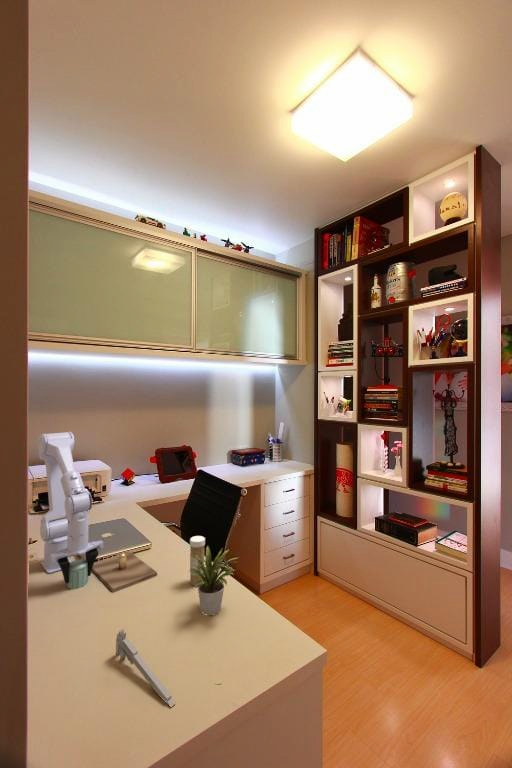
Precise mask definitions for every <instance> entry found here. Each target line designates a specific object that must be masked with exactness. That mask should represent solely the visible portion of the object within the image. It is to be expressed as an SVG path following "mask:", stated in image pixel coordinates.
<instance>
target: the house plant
mask: <svg viewBox="0 0 512 768" xmlns="http://www.w3.org/2000/svg"><path fill="white" fill-rule="evenodd" d="M229 551H230V548H229V549H227V550H225V551H224V552H223V548H221V549H220V550H219V552H218V553H217V555H216V557H215V558H214V560H213V559H212V552H211V549H210V546H209V545H207V546H206V549H205V558H204V559H203V560H204V564H203V562H202V561H201V558H199V557H198V556H197V555H195V554H194V556H195V557H196V558H197V560H198V562H199V563H200V564H199V563H198V562H197V563H198V564H199V565H200V566H198V567H197V566H196V565H195V564H193V563H192V564H193V565H195V567H197V568H198V569H199V567H200V568H201V570H202V571H203V573H204V575H202V574H203V573H202V571H201V570H200V569H199V570H200V571H201V573H202V574H201V573H200V572H199V571H197V570H196V569H191V570H190V569H189V571H188V572H189V573H190V572H192V573H194V574H196V575H198V576H200V577H201V579H202V580H203V581H202V580H198V581H197V586H196V588H197V593H198V598H199V604H200V605H199V606H200V611H202V612H203V613H204V614H207V615H212V616H214V615H213V614H216V613H218V612H219V611H220V612H221V609H222V608H221V607H222V602H223V596H224V589H225V585H226V586H228V582H227V579H226V578H224V577H227V576H231V575H234V573H233V572H234V571H237V569H231V568H229V567H226V566H227V565H229V564H233V563H235V561H234V560H236V559H238V557H234V558H229V559H227V560H226V561H225V562H223V561H224V560H225V557H226V554H227V553H228V552H229ZM195 562H196V561H195ZM222 562H223V563H222ZM237 562H240V561H237V560H236V563H237ZM193 568H194V567H193ZM223 572H224V573H223ZM203 576H204V577H203ZM202 612H201V613H202ZM220 612H219V613H220ZM203 613H202V614H203ZM219 613H218V614H219ZM204 614H203V615H204ZM207 615H206V616H207ZM216 615H217V614H216Z"/></svg>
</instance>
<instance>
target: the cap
mask: <svg viewBox="0 0 512 768" xmlns="http://www.w3.org/2000/svg"><path fill="white" fill-rule="evenodd" d="M88 582H89V576H88V561H87V560H86V559H76V560H72V562H70V566H69V583H67V584H66V587H67V588H68V589H71V590H75V589H81V588H83V587H84V586H86V585H88Z"/></svg>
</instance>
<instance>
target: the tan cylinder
mask: <svg viewBox="0 0 512 768" xmlns="http://www.w3.org/2000/svg"><path fill="white" fill-rule="evenodd" d="M125 553H126V552H122V553H119V554H118V555H119V557H118V569H119V570H124V569H126V554H125Z"/></svg>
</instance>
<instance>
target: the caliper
mask: <svg viewBox="0 0 512 768" xmlns="http://www.w3.org/2000/svg"><path fill="white" fill-rule="evenodd" d="M126 636H127V632H125V630H124V628H122V629H120V630H118V633H117V634H116V640H115V655H116V656H119V657H120V658H119V660H121V661H122V660H124V659H126V660H128V661H129V663H130V665H134V667H136V669H137V670H138V671H139V672H140V674H141V675H142V676H143V677H144V679H145V680H146V682H148V684H149V685H150V687H152V689H153V690H154V691H155V693H156V694H157V693H158V694H159V695H158V694H157V695H158V697H159V696H161V698H163V699H164V701H166V703H168V704H169V705H172V704H173V702H174V703H175V701H174V699H173V698H172V694H171V693H170V692H169V691H168V690H167V688H166V687H165V685H163V683H162V682H161V680H160V679H159V678H158V677H157V675H156V674H155V673H154V672H153V670H152V669H151V668H150V667H149V666H148V664H147V663H146V662H145V661H144V660H143V658H142V657H141V656H140V655H139V653H138V650H137V648H135V645H133V644H132V642H131V641H130V639H129V638H128V637H126ZM161 698H160V699H161ZM164 701H163V702H164ZM166 703H165V704H166ZM168 704H167V705H168Z"/></svg>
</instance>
